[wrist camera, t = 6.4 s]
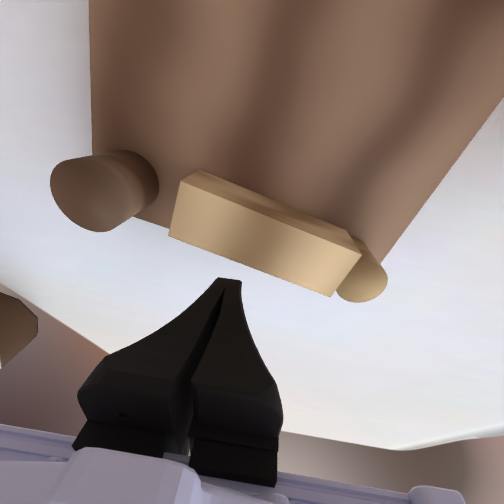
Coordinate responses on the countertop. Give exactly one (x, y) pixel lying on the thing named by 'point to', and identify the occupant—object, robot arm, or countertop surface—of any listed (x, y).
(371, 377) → the countertop surface
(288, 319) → the countertop surface
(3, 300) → the beer bottle
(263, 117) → the stool seat
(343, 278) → the oak leg
